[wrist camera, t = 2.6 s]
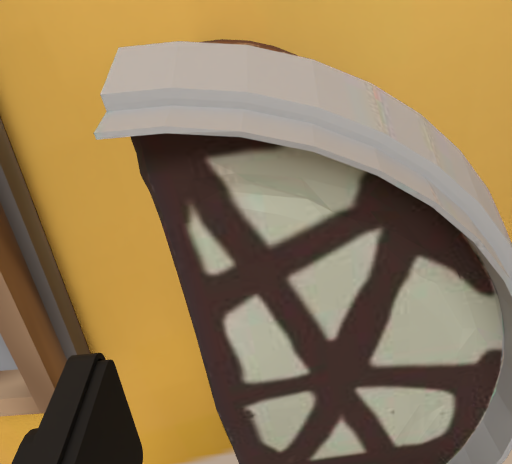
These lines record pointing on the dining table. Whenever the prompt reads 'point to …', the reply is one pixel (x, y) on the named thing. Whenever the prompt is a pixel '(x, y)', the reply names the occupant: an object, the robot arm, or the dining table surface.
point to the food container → (323, 256)
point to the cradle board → (29, 301)
